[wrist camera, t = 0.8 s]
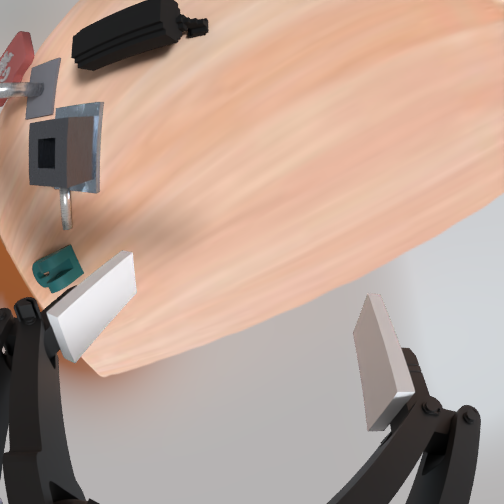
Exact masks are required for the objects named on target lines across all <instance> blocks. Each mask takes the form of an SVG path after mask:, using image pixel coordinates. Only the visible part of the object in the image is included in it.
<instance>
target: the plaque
mask: <svg viewBox="0 0 504 504" xmlns="http://www.w3.org/2000/svg"><path fill="white" fill-rule="evenodd" d="M33 59H34V50H33V45H32V40H31V35H30V33H29V32H22V31H20V32H18V33H17V35H16V36H15V37H14V39H13V40H12V42H11V43H10V45H9V46H8V48H7V49H6V50H5V52H4V53H3V55H2V57H1V58H0V83H10V82H21V80H22V76H23V74H24V73H25V72H26V70H27V69H28V67H29V66H30V65H31V63H32V61H33ZM7 99H8V98H0V107H1V106H3V105H4V103H5V102H6V100H7Z"/></svg>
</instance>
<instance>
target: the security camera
mask: <svg viewBox="0 0 504 504" xmlns="http://www.w3.org/2000/svg"><path fill="white" fill-rule="evenodd" d="M187 29H188V37H190V38H193V37H197V36H202V35H205V33H208V20H207V18H205V19H199V20H197V19H196V18H194V19H190V18H189V17H188V18H187V17H185V16H184V15H181V14H180V9H179V8H178V3H177V2H175V1H174V0H146V1H143V2H141V3H138V4H135V5H133V6H130V7H128V8H125V9H123V10H121V11H118V12H116V13H114V14H112V15H109V16H107V17H105V18H103V19H101V20H99V21H97V22H95V23H93V24H91V25H89V26H87V27H85V28H83V29H82V30H80V32H78V33H77V34H76V35H75V36H73V43H72V57H71V58H74V59H75V63H77V64H78V68H80V69H87V70H92V71H94V70H97V69H99V68H102V67H104V66H106V65H109V64H111V63H114V62H117V61H119V60H122V59H125V58H127V57H130V56H133V55H136V54H139V53H142V52H145V51H148V50H152V49H155V48H159V47H162V46H166V45H169V44H173V43H177V42H178V40H179V39H180V37H182V32H184V31H187Z"/></svg>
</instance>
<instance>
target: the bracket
mask: <svg viewBox="0 0 504 504" xmlns="http://www.w3.org/2000/svg"><path fill="white" fill-rule="evenodd" d="M32 270H33V274H34V277H35V279H36V280H37V282H38V283H39V284H40V285H41V286H42V287H45V288H46V287H49V289H50V291H51V293H55V292H57V291H59V290H61V289H63V288H65V287H66V286H68V285H69V284H71V283H72V282H73V281H75V280H76V279H77V278H78V277H80V276H81V275H82V274H84V272H83V270H82V268H81V266H80V264H79V262H78V260H77V257H76V255H75V253H74V251H73V249H72V246H71V245H69V246H66V247H64V248H62V249H60V250H58V251H56V252H54V253H52V254H50V255H47V256H45V257H43V258H41V259H39V260H38V261H36V262H35V263H34V264H33V266H32ZM48 271H49V274H47V275H44V274H43V273H46V272H48Z"/></svg>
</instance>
